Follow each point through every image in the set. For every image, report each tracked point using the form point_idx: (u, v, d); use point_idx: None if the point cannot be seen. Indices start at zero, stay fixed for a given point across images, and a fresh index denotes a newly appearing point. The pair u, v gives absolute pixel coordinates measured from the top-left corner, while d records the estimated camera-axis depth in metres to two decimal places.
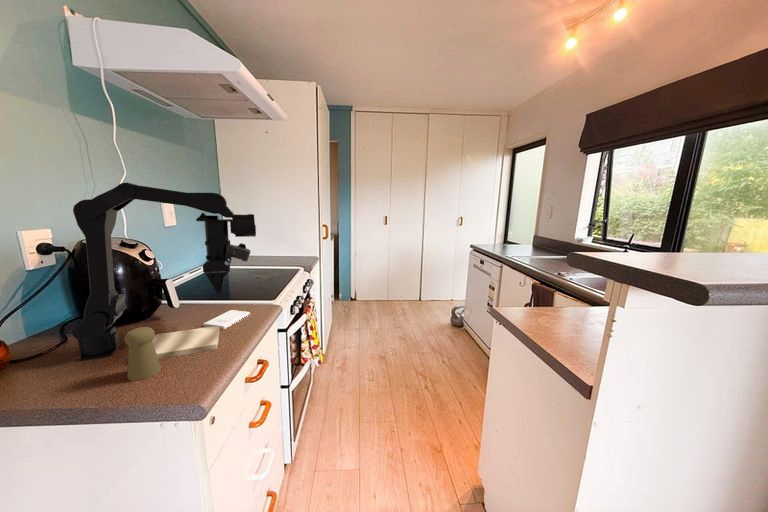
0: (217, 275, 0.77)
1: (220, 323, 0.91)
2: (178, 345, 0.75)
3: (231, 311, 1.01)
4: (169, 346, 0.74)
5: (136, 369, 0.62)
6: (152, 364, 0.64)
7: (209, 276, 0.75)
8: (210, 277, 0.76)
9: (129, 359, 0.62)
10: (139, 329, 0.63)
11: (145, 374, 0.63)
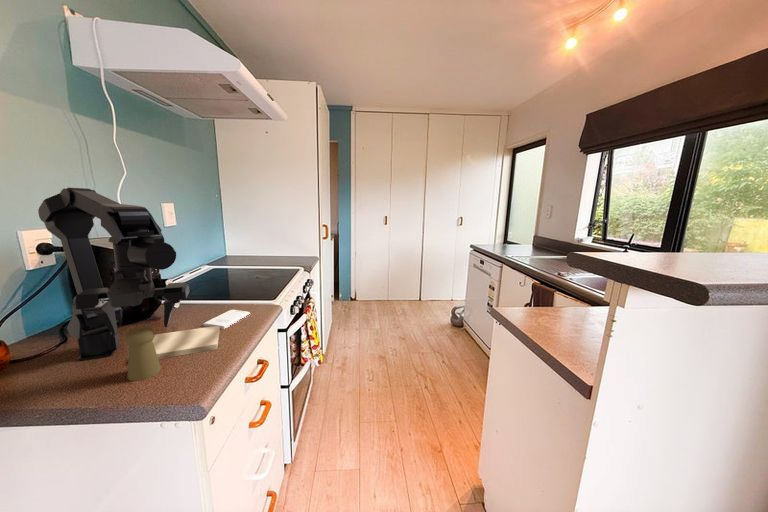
0: None
1: (220, 323, 0.91)
2: (178, 345, 0.75)
3: (231, 311, 1.01)
4: (169, 346, 0.74)
5: (136, 369, 0.62)
6: (152, 364, 0.64)
7: None
8: None
9: (129, 359, 0.62)
10: (139, 329, 0.63)
11: (145, 374, 0.63)
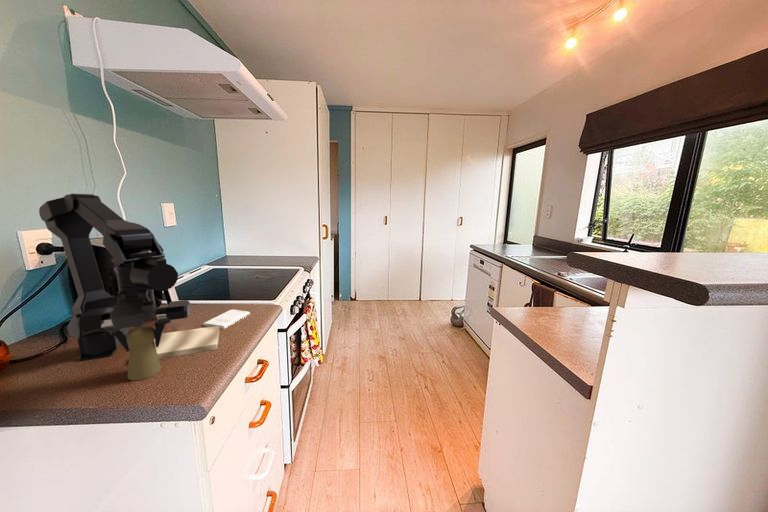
0: None
1: (220, 323, 0.91)
2: (178, 345, 0.75)
3: (232, 310, 1.01)
4: (169, 346, 0.74)
5: (137, 369, 0.62)
6: (152, 364, 0.64)
7: None
8: None
9: (130, 358, 0.62)
10: (141, 328, 0.63)
11: (145, 374, 0.63)
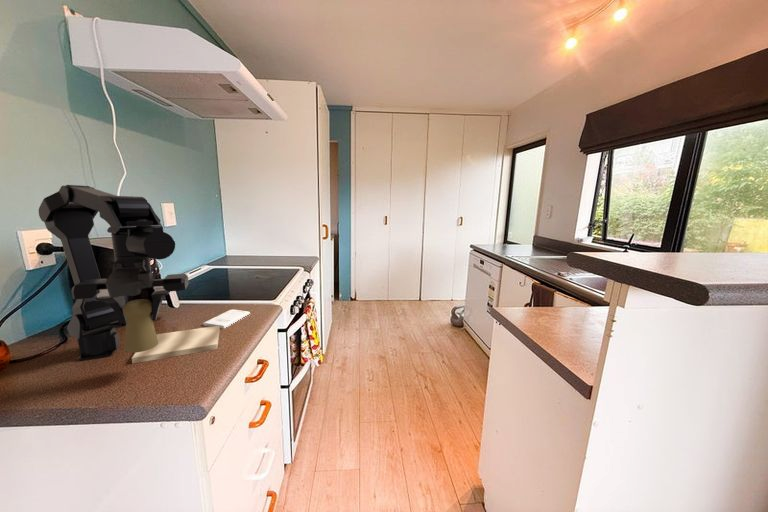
0: None
1: (220, 322, 0.91)
2: (178, 345, 0.75)
3: (232, 310, 1.01)
4: (169, 346, 0.74)
5: (133, 341, 0.61)
6: (150, 337, 0.63)
7: None
8: None
9: (126, 330, 0.61)
10: (137, 300, 0.62)
11: (142, 346, 0.62)
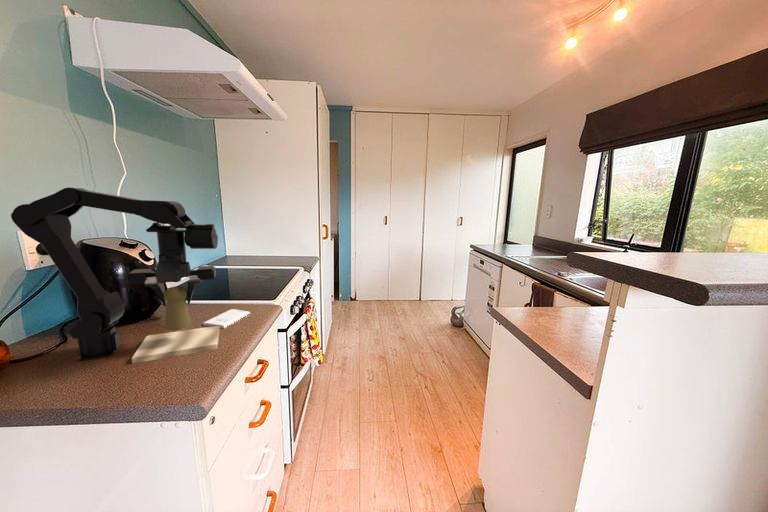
0: None
1: (220, 322, 0.91)
2: (178, 345, 0.75)
3: (232, 310, 1.01)
4: (169, 346, 0.74)
5: (173, 320, 0.74)
6: (185, 318, 0.76)
7: None
8: None
9: (167, 312, 0.74)
10: (175, 287, 0.75)
11: (179, 325, 0.75)
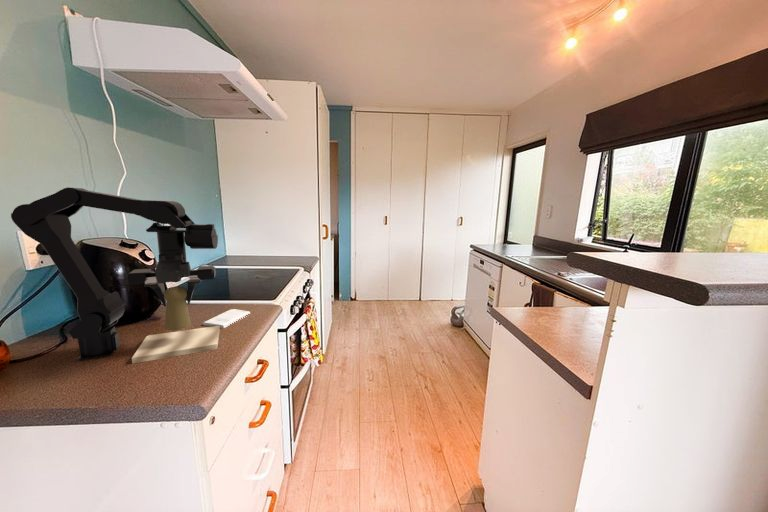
0: None
1: (220, 322, 0.91)
2: (178, 345, 0.75)
3: (232, 310, 1.01)
4: (169, 346, 0.74)
5: (173, 320, 0.74)
6: (185, 318, 0.76)
7: None
8: None
9: (167, 312, 0.74)
10: (176, 287, 0.75)
11: (179, 325, 0.75)
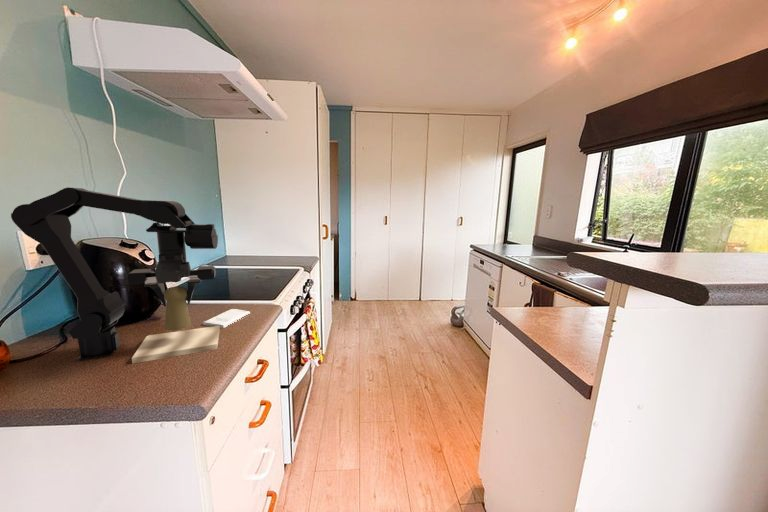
0: None
1: (220, 322, 0.91)
2: (178, 345, 0.75)
3: (232, 310, 1.02)
4: (169, 346, 0.74)
5: (173, 320, 0.74)
6: (185, 318, 0.76)
7: None
8: None
9: (167, 312, 0.74)
10: (176, 287, 0.75)
11: (179, 325, 0.75)
